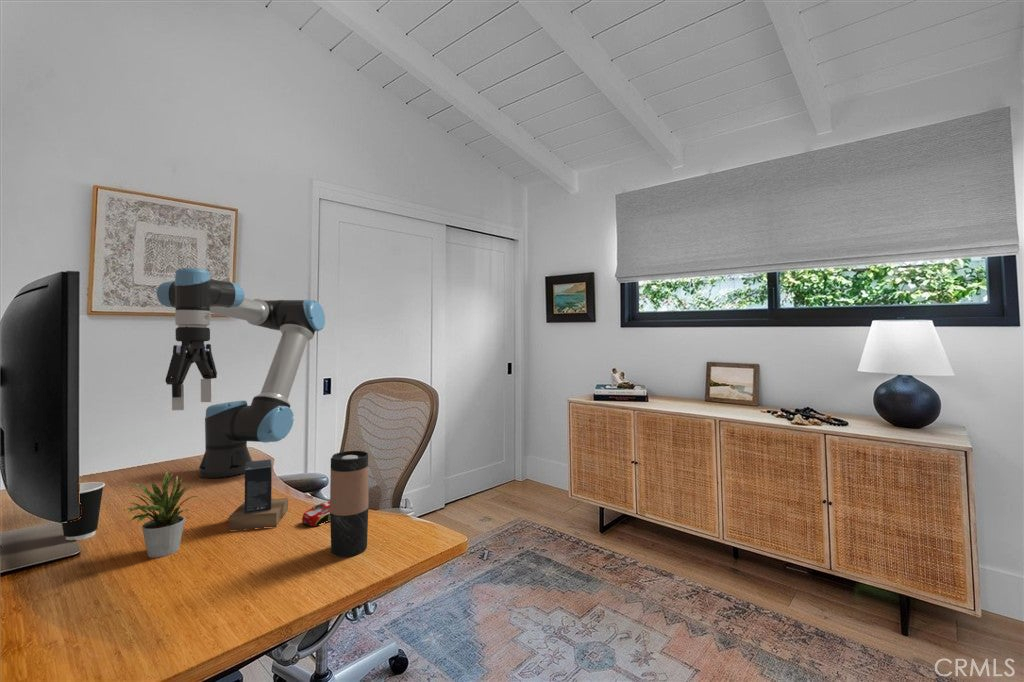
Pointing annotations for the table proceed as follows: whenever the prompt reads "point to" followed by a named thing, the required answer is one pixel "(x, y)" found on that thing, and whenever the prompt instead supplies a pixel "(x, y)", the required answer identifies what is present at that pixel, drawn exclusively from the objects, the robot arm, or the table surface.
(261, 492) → the box
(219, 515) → the table surface
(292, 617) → the table surface
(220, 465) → the robot arm
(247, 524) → the walnut pedestal
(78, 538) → the dixie cup
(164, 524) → the house plant
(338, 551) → the travel mug
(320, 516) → the race car
